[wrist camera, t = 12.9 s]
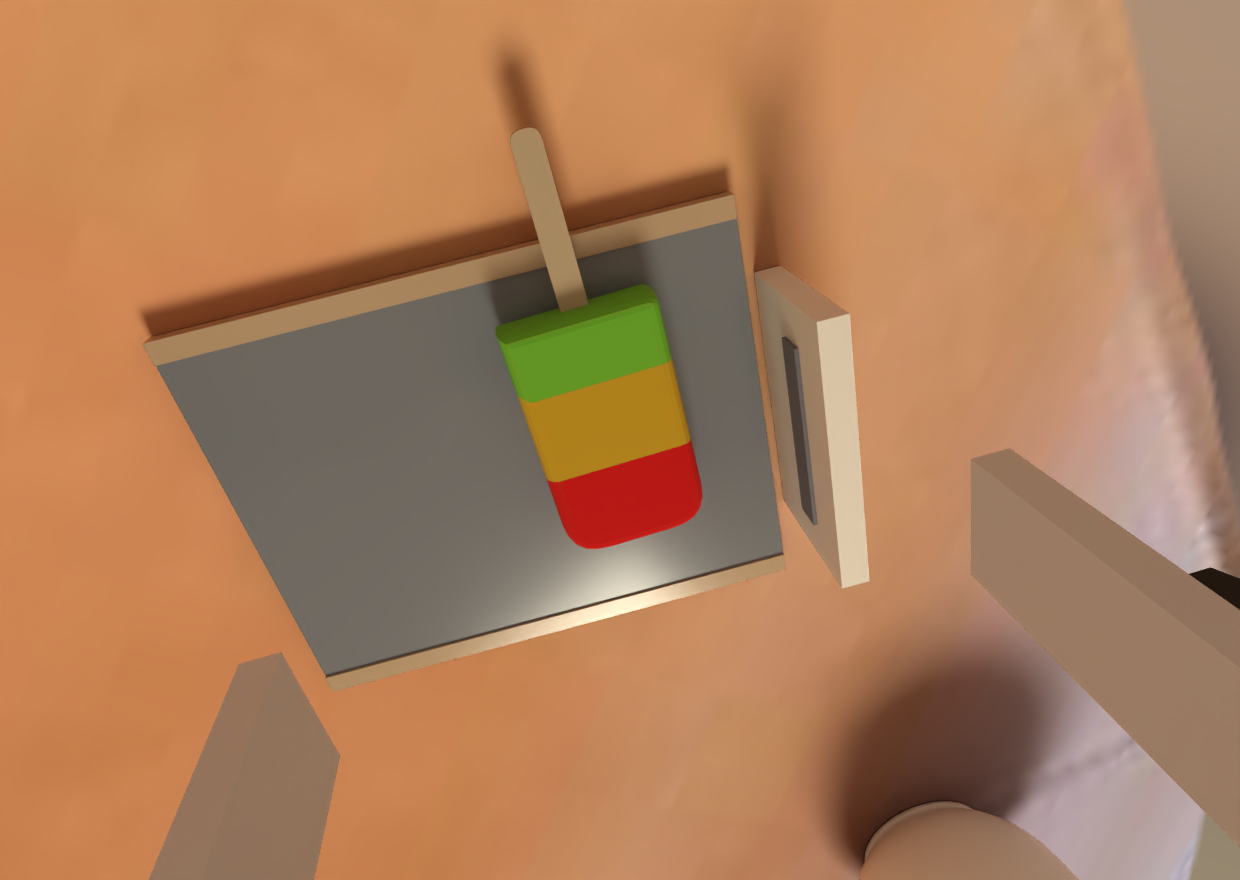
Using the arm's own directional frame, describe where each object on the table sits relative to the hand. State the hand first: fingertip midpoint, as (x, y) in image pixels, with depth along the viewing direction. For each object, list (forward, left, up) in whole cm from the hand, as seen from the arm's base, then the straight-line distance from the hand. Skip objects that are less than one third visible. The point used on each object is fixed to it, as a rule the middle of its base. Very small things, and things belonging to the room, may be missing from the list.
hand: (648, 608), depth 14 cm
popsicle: (0, 0, -14) cm, 14 cm away
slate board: (-4, -4, -15) cm, 16 cm away
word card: (+7, -4, -15) cm, 17 cm away
